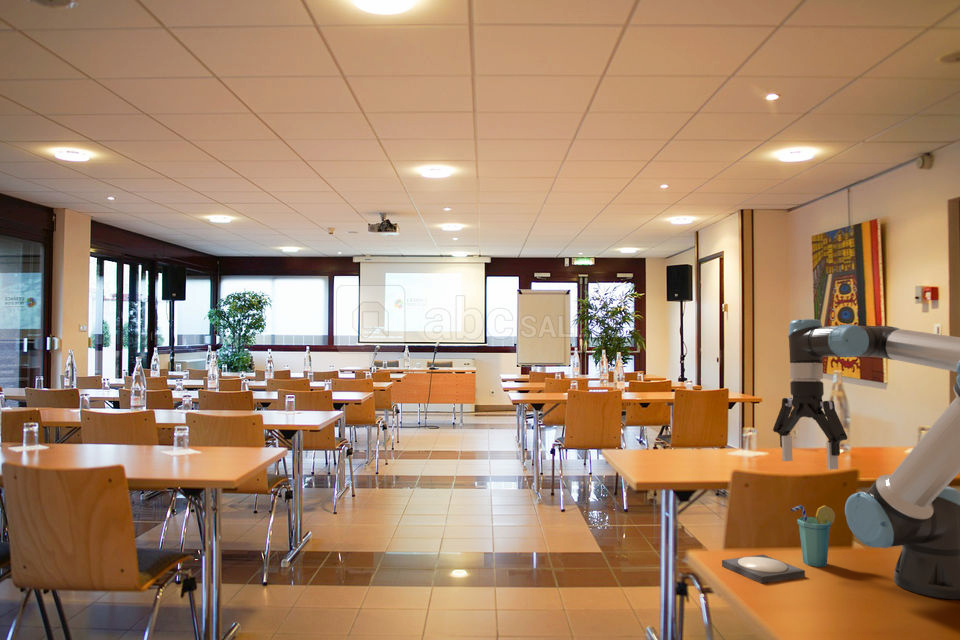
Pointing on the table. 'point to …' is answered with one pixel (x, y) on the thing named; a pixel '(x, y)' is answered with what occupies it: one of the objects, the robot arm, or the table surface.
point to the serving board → (763, 568)
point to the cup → (815, 535)
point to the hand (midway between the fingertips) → (809, 464)
